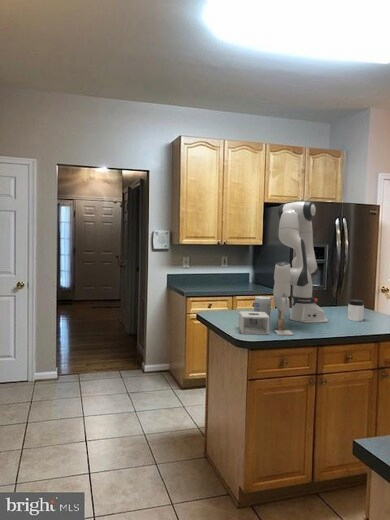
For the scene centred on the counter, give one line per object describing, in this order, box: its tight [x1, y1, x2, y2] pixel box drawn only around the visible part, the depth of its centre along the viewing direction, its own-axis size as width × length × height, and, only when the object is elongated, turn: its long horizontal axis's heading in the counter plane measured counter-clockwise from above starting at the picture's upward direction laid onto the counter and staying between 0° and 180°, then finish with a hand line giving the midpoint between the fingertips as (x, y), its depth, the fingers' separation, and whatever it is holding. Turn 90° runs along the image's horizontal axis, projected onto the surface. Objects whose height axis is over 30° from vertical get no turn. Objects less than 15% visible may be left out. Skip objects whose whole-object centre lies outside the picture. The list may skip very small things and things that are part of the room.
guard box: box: [238, 310, 271, 335], centre depth 217 cm, size 14×14×9 cm
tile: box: [274, 329, 294, 337], centre depth 212 cm, size 8×8×1 cm
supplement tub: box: [253, 295, 272, 324], centre depth 237 cm, size 10×10×15 cm
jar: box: [347, 299, 365, 322], centre depth 251 cm, size 9×8×12 cm
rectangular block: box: [276, 308, 286, 330], centre depth 221 cm, size 3×3×12 cm
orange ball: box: [250, 318, 258, 325], centre depth 217 cm, size 4×4×4 cm
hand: (281, 317), depth 221 cm, fingers closed on rectangular block, 3 cm apart
